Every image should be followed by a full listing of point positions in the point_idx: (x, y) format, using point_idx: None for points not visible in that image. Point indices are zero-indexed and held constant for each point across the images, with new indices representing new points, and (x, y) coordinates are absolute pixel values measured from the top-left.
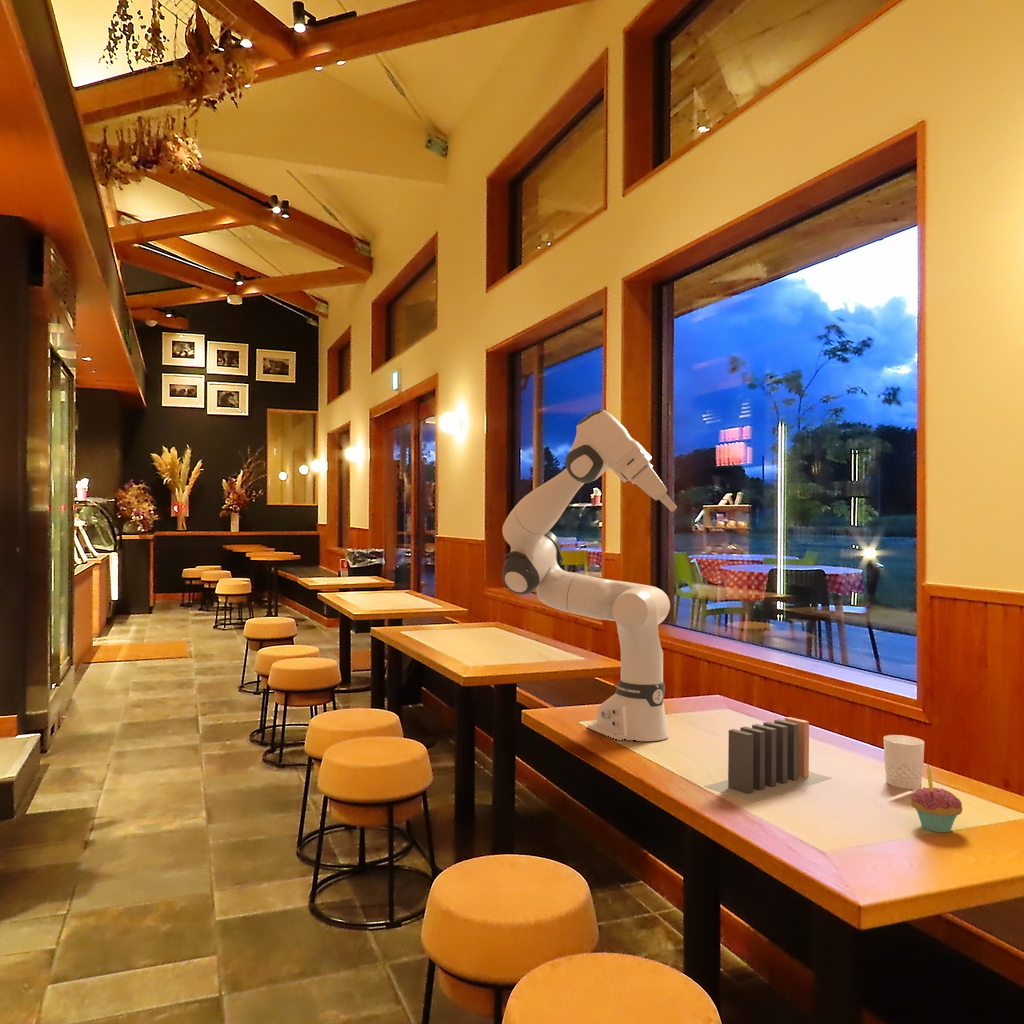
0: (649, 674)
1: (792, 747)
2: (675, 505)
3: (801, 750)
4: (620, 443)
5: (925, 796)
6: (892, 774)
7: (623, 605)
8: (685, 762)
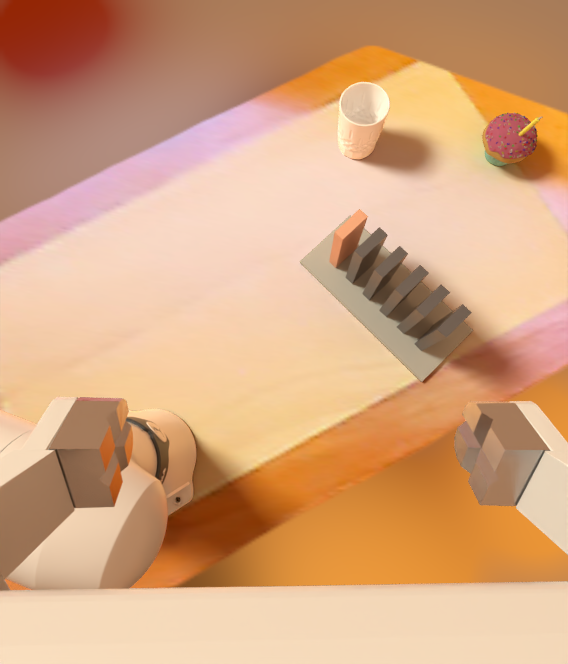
0: (148, 452)
1: (379, 249)
2: (542, 417)
3: (358, 237)
4: None
5: (527, 144)
6: (370, 147)
7: (143, 567)
8: (299, 395)
